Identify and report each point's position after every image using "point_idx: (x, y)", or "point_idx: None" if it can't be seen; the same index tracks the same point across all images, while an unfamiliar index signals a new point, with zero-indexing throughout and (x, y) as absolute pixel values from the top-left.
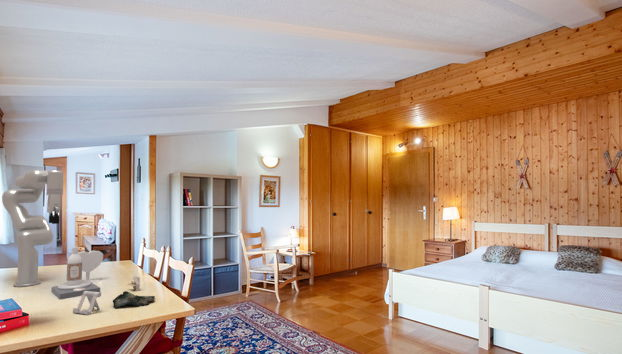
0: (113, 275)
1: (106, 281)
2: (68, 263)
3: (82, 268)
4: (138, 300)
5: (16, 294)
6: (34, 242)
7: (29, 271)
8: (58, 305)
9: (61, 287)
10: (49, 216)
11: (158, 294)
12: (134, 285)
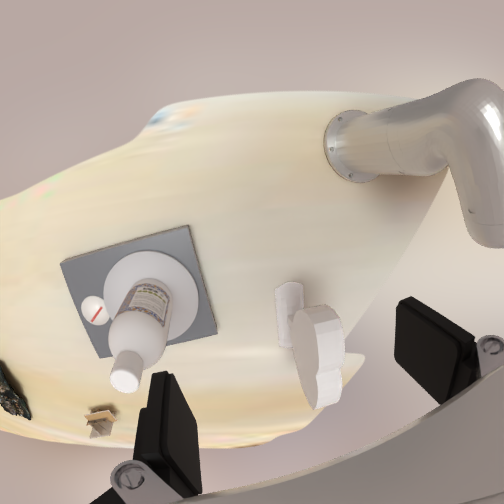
0: None
1: (254, 364)
2: (116, 317)
3: (295, 326)
4: (10, 395)
5: (206, 125)
6: (447, 158)
7: (356, 146)
8: (13, 262)
9: (114, 265)
10: (454, 345)
11: (55, 429)
12: (86, 417)
